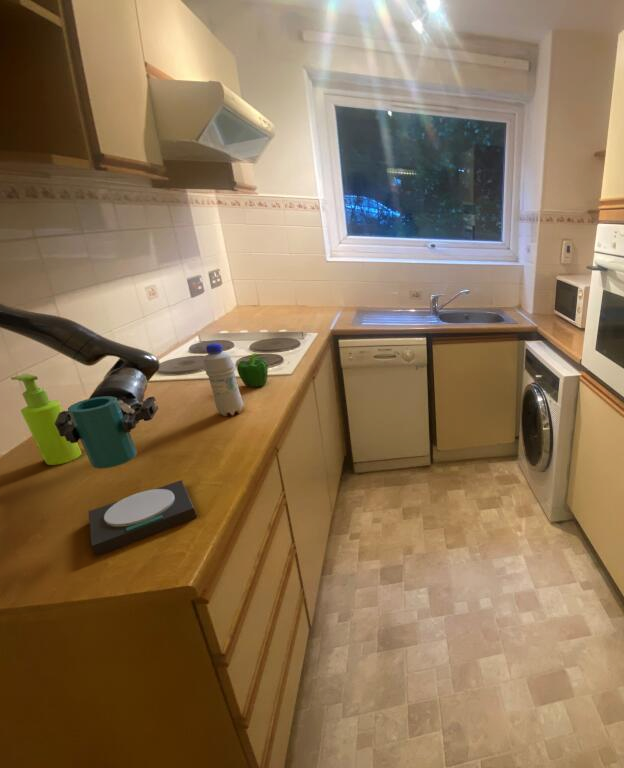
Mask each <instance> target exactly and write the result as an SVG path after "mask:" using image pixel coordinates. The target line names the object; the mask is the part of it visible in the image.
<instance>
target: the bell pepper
mask: <svg viewBox="0 0 624 768" xmlns="http://www.w3.org/2000/svg"><path fill="white" fill-rule="evenodd" d="M258 356H259V353H258V352H257V353H256V352H255V353H252V354H251V355H250V357H249V360H248V361H246V360H241V361H240V360H239V363H238V364H237V374H238V376H239V378H240V379H241V381H242V382H243V384H244V385H245V386H246V387H247V388H252V387H253V388H259V387H263V386H264V385H266V383H267V381H268V371H269V370H268V365H267V364H268V363H267V361H266V360H265V358H256V357H258Z"/></svg>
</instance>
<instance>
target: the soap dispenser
mask: <svg viewBox="0 0 624 768" xmlns="http://www.w3.org/2000/svg"><path fill="white" fill-rule="evenodd" d="M10 379H11V381H20V382H22V383H23V385H24V387H25V391H24V392H22V397H23V399H24V401H25V403H26V406H24V407H23V408H21V409H20V412H21V414H22V416H23V419H24V421H25V423H26V425H27V427H28V429H29V432H30V434H31V436H32V437H33V440H34V442H35V444H36V445H37V448H38V450H39V452H40V454H41V456H42V458H43V460H44V462H45V465H47V466H58V465H62V464H65V463H66V464H67V463H69V462H72V461H74V460H77V459H78V458H80V457H81V456H82V450H81V449H80V446H79V444H78V442H76V443H70V441H67V440H66V438H65V436H60V435H59V432H58V429H57V427H56V426H55V421H56V419H57V417H58V415H59V413H60V412H63V411H64V410H63V407H62V405H61V403H60V401H58V400H50V398H49V395H48V392H47V391H46V389H45V388H44V387H43V388H42V387H38V385H37V382H36V380H39V377H38V376H36V375H33V374H28V373H24V374H19V375H16V376H12V377H10Z"/></svg>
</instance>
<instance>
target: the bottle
mask: <svg viewBox="0 0 624 768" xmlns="http://www.w3.org/2000/svg"><path fill="white" fill-rule="evenodd" d="M206 352H207V354H206V355H204V356H203V358H202V359H203V369H204V371H205V375H206V376H207V377H208V380H209V383H210V387H211V390H212V394H213V399H214V404H215V407H216V410H217V412H218V414H219V415H222V416H224V417H228V415H230V416H235V413H237V414H240V413H241V412H242V411H243V409H244V401H243V398H242V395H241V392H240V389H239V384H238V381H237V378H236V373H235V371H236V368H235V363H234V362H233V359H232V356H231V354H230V353H229V352H226V351H224V350H223V346H222V345H221V343H218V342H215V343H209V344H207V345H206Z"/></svg>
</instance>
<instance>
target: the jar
mask: <svg viewBox="0 0 624 768" xmlns="http://www.w3.org/2000/svg"><path fill="white" fill-rule="evenodd" d="M67 411H68V412H69V414H70V417H71V419H72V421H73V424H74V426H75V428H76V431H77V433H78V435H79V438H80V439H79V441H80V442H81V444H82V447H83V449H84V451H85V454H86V456H87V458H88V461H89V463H90V465H91V467H93V468H95V469H110V468H113V467H114V468H115V467H118V466H121V465H123V464H126V463H128V462H130V461H131V460H133V459H134V458H135V457H136V456H137V454H138V451H137V448H136V445H135V444H134V440H133V438H132V436H131V435H132V434H131V432H128V433H124V430H123V428H122V425H121V421H122V419H123V414H122V411H121V409H120V406H119V404H118V401H117V398H116V397H112V396H104V397H95V398H91V399H89V398H87V399H84V400H79V401H77V402H75V403H73V404H71V405H70V406H69V407H67Z"/></svg>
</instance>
